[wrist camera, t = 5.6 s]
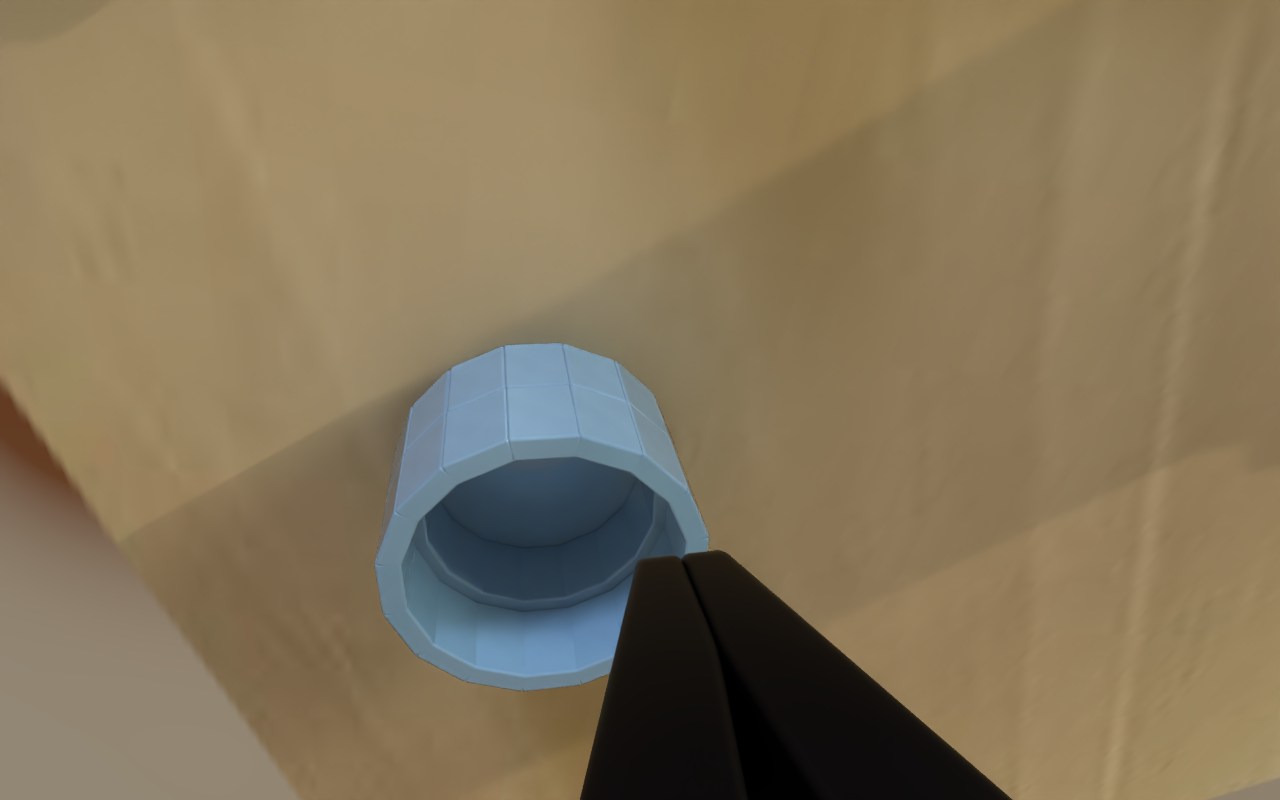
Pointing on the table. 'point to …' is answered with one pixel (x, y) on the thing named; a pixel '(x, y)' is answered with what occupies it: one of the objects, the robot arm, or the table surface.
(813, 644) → the robot arm
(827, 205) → the table surface
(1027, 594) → the table surface
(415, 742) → the table surface
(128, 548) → the table surface
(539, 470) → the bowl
